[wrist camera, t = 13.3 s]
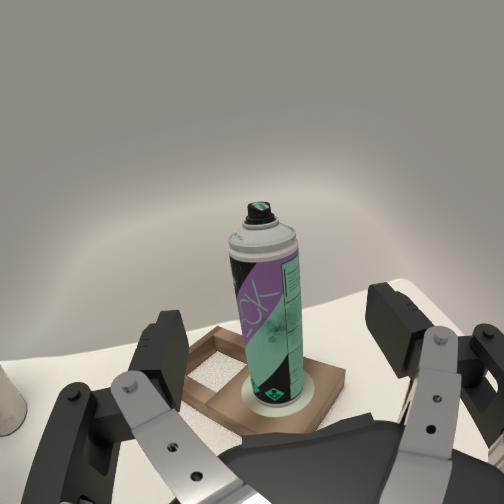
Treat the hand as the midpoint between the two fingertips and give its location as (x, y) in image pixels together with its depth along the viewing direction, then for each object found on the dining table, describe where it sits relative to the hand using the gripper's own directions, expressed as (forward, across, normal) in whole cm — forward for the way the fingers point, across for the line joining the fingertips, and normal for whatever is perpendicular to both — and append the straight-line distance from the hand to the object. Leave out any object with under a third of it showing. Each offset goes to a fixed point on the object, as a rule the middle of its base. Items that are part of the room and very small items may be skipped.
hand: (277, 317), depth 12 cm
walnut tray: (+14, +3, +21) cm, 26 cm away
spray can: (+11, -1, +18) cm, 21 cm away
